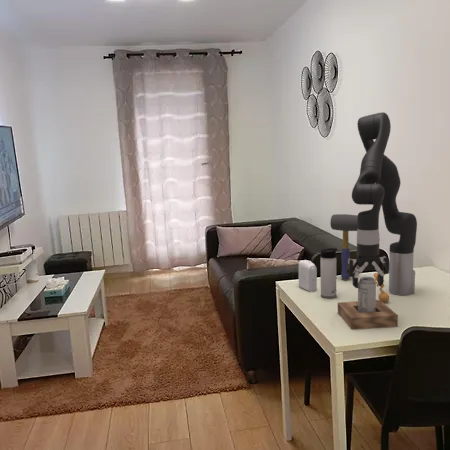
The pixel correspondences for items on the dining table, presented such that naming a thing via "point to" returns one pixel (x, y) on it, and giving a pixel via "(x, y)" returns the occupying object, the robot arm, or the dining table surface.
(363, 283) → the energy drink can
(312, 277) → the photo printer
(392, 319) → the wooden square frame
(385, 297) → the figurine
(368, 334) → the dining table surface
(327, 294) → the travel mug
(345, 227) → the rubber mallet
